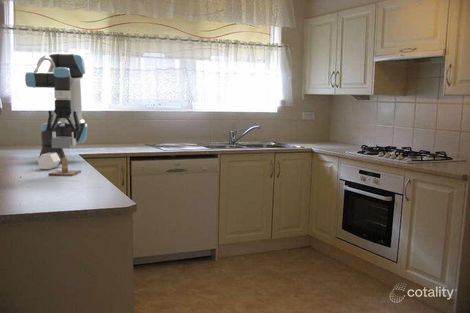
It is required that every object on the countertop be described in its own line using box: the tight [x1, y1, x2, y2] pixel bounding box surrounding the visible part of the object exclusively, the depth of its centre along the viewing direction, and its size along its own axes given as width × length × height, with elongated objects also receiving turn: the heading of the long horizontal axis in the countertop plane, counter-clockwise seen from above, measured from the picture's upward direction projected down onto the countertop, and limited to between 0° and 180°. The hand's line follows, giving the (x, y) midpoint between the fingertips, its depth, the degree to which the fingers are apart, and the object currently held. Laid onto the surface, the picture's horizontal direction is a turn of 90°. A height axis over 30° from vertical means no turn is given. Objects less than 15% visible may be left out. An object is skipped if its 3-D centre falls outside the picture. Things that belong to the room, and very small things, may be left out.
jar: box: [36, 152, 62, 170], centre depth 270 cm, size 9×8×12 cm
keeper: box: [48, 157, 82, 177], centre depth 249 cm, size 12×12×8 cm
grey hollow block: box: [52, 137, 77, 149], centre depth 248 cm, size 9×9×5 cm
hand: (64, 144), depth 248 cm, fingers closed on grey hollow block, 9 cm apart
